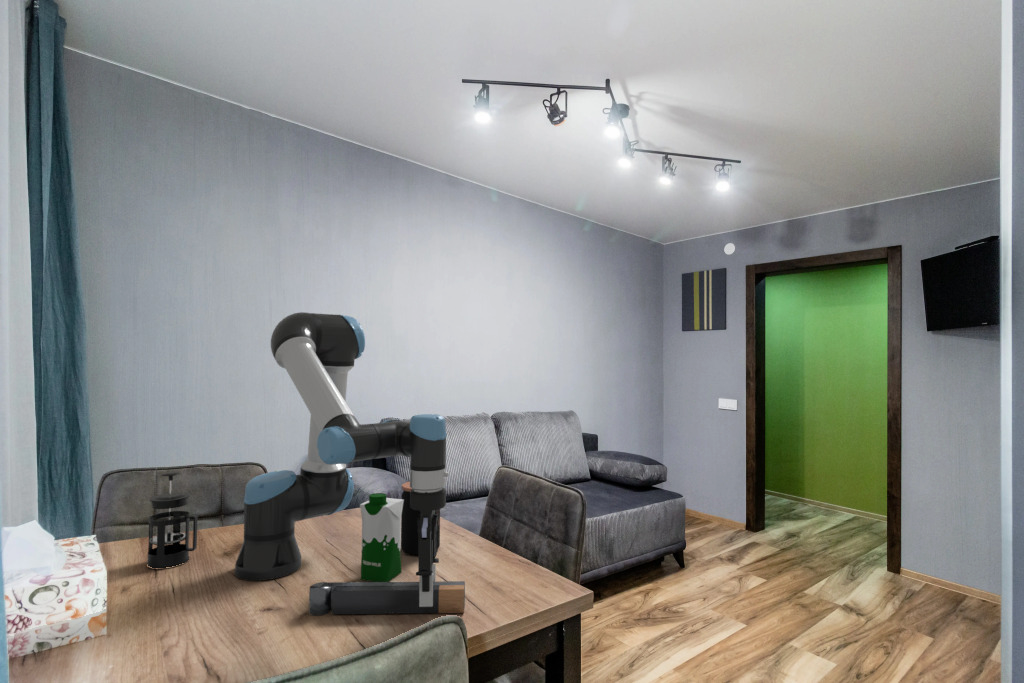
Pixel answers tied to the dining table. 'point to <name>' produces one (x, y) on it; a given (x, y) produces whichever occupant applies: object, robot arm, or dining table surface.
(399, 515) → the milk carton
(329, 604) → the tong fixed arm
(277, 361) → the robot arm
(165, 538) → the french press
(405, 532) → the coffee jar
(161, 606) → the dining table surface
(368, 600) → the arm
